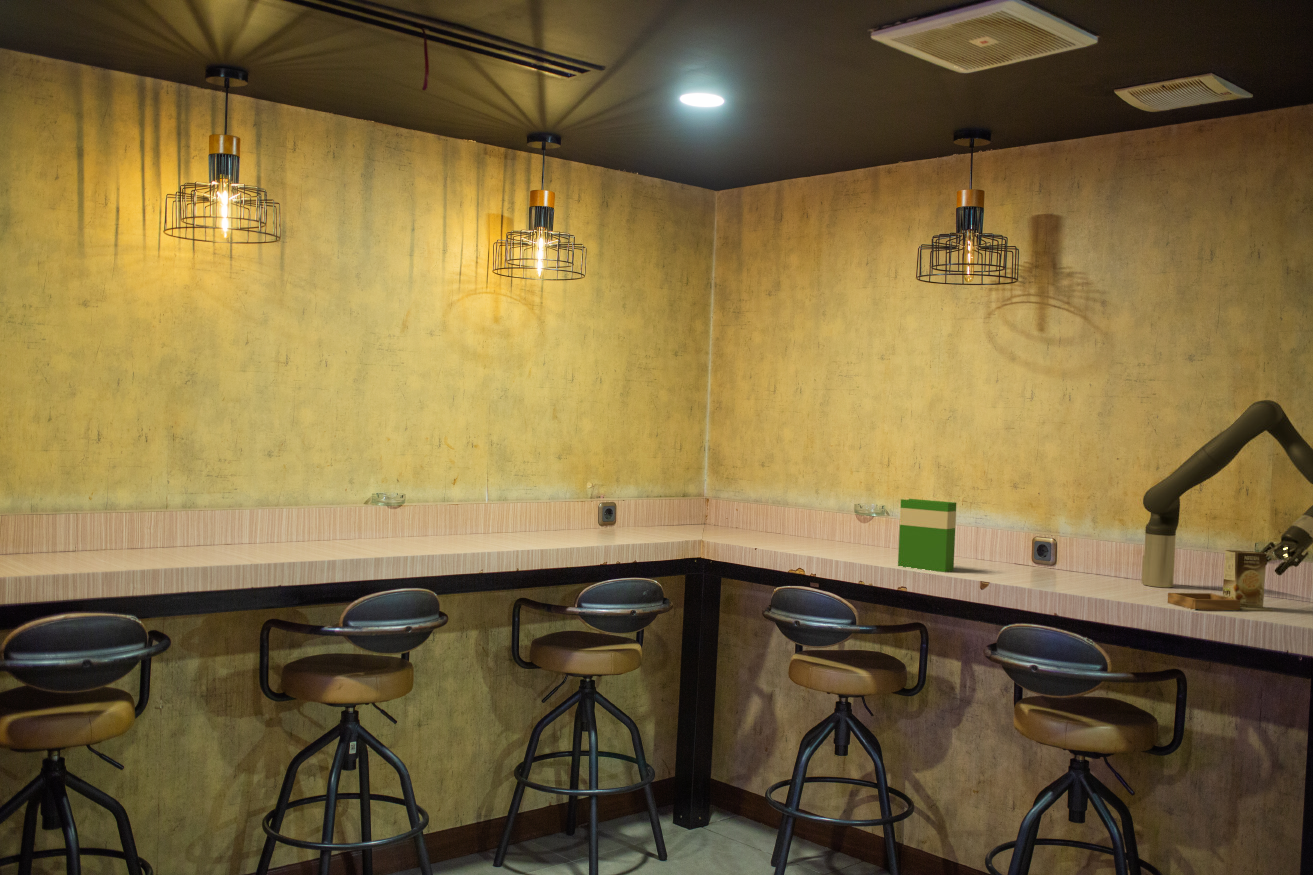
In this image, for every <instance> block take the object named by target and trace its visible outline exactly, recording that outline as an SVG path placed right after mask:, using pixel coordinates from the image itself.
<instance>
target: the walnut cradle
mask: <svg viewBox="0 0 1313 875" xmlns="http://www.w3.org/2000/svg"><path fill="white" fill-rule="evenodd" d="M1167 604H1171V605H1175V606H1178V607H1181V606H1183V607H1182V608H1185V607H1187V608H1186V609H1189V608H1190V609H1189V610H1192V609H1199V610H1198V611H1224V610H1239V611H1241V610H1240V600H1236V599H1232V598H1228V597H1224V596H1223V595H1220V594H1216V593H1209V592H1207V593H1206V592H1203V593H1202V592H1201V593H1200V592H1168V593H1167Z"/></svg>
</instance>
